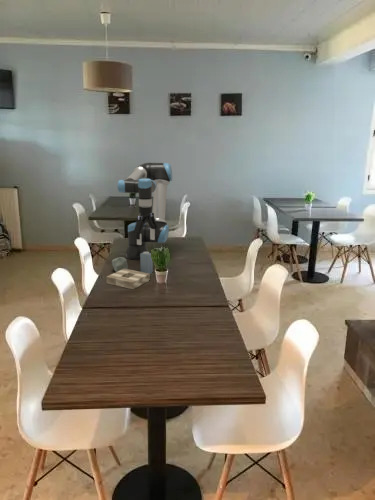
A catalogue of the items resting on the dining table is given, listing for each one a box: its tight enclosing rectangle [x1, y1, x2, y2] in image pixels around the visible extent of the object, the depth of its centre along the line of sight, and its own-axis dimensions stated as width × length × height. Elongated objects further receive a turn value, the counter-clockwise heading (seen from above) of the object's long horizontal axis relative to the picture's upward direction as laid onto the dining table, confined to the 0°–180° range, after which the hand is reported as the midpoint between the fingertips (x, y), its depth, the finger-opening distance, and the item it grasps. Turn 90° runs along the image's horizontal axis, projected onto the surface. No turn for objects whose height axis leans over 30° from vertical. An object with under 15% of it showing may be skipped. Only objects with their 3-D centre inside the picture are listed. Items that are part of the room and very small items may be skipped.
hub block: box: [106, 268, 151, 290], centre depth 234 cm, size 16×18×4 cm
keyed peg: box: [140, 251, 154, 275], centre depth 248 cm, size 4×6×13 cm, turn 61°
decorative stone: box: [111, 256, 129, 273], centre depth 252 cm, size 13×11×10 cm
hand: (146, 242), depth 244 cm, fingers open, 13 cm apart
